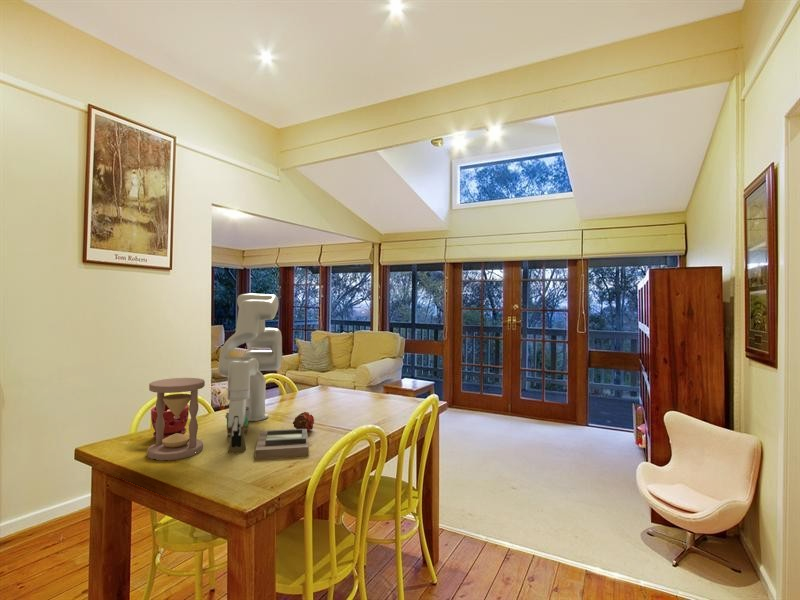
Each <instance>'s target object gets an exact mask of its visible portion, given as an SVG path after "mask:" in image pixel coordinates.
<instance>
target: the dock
mask: <svg viewBox="0 0 800 600" xmlns="http://www.w3.org/2000/svg"><path fill="white" fill-rule="evenodd" d="M308 439H309V437H308V430H307V429H296V428H294V429H293V428H292V429H290V428H289V429H276V430H275V429H273V430H263V431H262V430H260V431H259V435H258V438H257V442H256V446H255V451H254V460H259V459H262V460H264V459H275V458H276V459H277V458H290V457H291V456H293V457H305V456H304V455H307V456H309V453H310V452H309V451H310V450H309V440H308ZM291 458H292V457H291Z"/></svg>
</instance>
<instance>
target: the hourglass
mask: <svg viewBox="0 0 800 600" xmlns="http://www.w3.org/2000/svg"><path fill="white" fill-rule="evenodd" d="M205 386H206V384H205V380H204V378H199V377H196V378H195V377H176V378H175V377H173V378H164V379H159V380H154V381H151V382H150V383H149V384H148V389H149V391H150V392H153V393H156V402H155V406H156V411H157V415H158V417H157V420H156V423H155V429H156V438H155V443H154V444H151V445H150V446H149V447H148V448H147V453H146V454H147V458H149V459H150V458H151V460H153V459H156V460H155V461H164V460H168V461H174V460H175V461H176V460H182V459H186V458H190V457H193V456H195V455H197V454H199V453H200V452H202V450H203V449H204V442H203V440H201V439H198V438H197V434H198V429H199V424H198V420H197V415H198V411H199V399H198V398H199V397H198V396H199V390H200V389H203V388H204V387H205ZM186 392H187V393H186ZM188 392H190V393H188ZM165 394H167V395H165ZM165 404H166V405H167V406H168V408H169V409H170V410H171V411H172V413H173V414H174V415H175V417H174V419H179V418H180V416H179V415H180V413H181V412H182V411H183V409H184V408H185V407H186V405H187V404H188V406H189V415H190V420H189V424H188V433H189V435H188V434H184V435H183V434H179V433H175V434H173V435H171V436H169V437H166V438H164V439H163V431H164V427H165V422H164V419H163V412H164V409H165ZM170 410H169V411H170ZM195 452H196V453H195Z"/></svg>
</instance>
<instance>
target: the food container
mask: <svg viewBox="0 0 800 600" xmlns="http://www.w3.org/2000/svg"><path fill="white" fill-rule="evenodd" d="M250 413H251V412H250V409H249V407H247V406H246V414H245V428H244V434H245V435H247V434H248V427H249V426H248V425H249V421H248V418H249V414H250ZM225 419H226V434H227V435H226V437H227V438H230V437H231V431H232V430H231V428H228V419H229V411H228V412H226V413H225Z"/></svg>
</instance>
